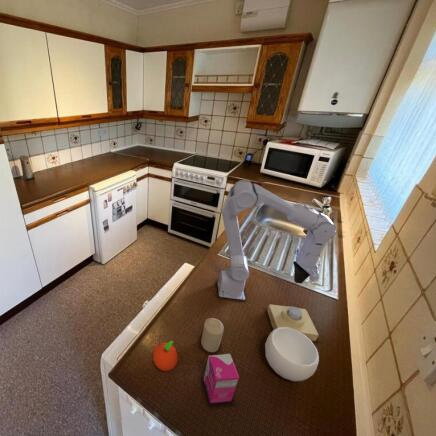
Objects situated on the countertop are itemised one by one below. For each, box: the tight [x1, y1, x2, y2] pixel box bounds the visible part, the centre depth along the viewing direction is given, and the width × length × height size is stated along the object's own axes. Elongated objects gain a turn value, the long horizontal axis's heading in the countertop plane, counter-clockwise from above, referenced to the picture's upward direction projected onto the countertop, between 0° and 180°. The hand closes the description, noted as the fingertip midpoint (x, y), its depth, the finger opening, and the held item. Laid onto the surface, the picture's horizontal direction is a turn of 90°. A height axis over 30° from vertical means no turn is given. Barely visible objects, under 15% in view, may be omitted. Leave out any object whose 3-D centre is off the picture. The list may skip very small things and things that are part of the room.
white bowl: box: [264, 327, 320, 382], centre depth 66 cm, size 12×12×10 cm
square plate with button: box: [266, 303, 319, 342], centre depth 79 cm, size 12×10×5 cm
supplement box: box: [203, 353, 240, 404], centre depth 60 cm, size 6×6×12 cm
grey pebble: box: [288, 306, 302, 320], centre depth 78 cm, size 4×4×2 cm
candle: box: [200, 317, 225, 353], centre depth 71 cm, size 6×6×10 cm
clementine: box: [152, 340, 178, 372], centre depth 67 cm, size 8×7×7 cm
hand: (297, 281), depth 83 cm, fingers closed
